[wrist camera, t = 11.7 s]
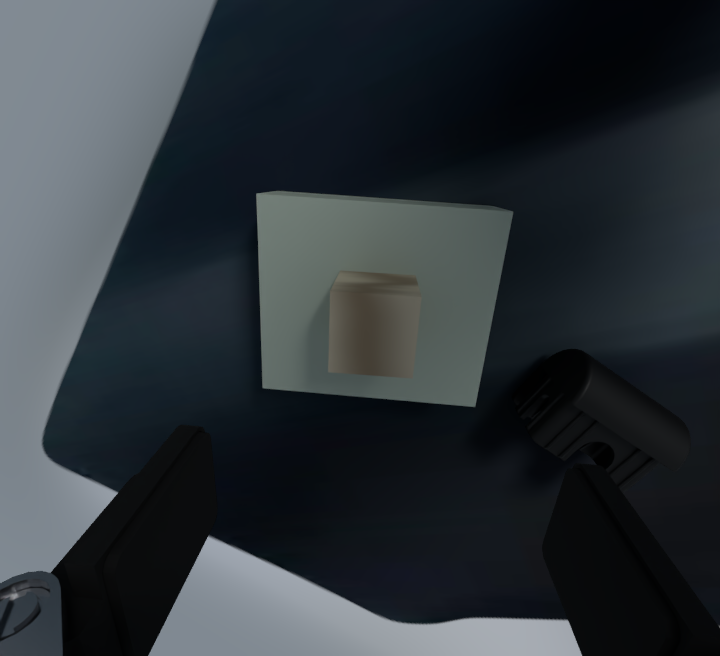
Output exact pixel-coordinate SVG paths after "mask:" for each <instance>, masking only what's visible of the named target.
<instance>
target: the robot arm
mask: <svg viewBox="0 0 720 656" xmlns="http://www.w3.org/2000/svg"><path fill="white" fill-rule="evenodd" d="M216 517H217V498H216V487H215V477H214V467H213V456H212V446H211V437H210V434H209V433H205V430H204V428H203V427H199V426H189V425H180V426H178V427H177V428H176V429H175V431H174V432H173V433H172V434H171V435H170V437H169V438H168V439H167V440H166V441H165V443H164V444H163V445H162V446H161V447H160V449H159V450H158V451H157V452H156V453H155V455H154V456H153V457H152V458H151V459H150V461H149V462H148V463H147V464H146V465H145V467H144V468H143V469H142V470H141V471H140V473H138V474H136V475H134V476H133V477H132V478H131V479H130V480H129V481H128V482H127V483H126V484H125V486H124V487H123V488H122V489H121V490H120V491H119V493H118V494H117V495H116V496H115V497H114V499H113V500H112V501H111V502H110V503H109V504H108V506H107V507H106V508H105V509H104V510H103V511H102V513H101V514H100V515H99V516H98V517H97V519H96V520H95V521H94V522H93V523H92V524H91V526H90V527H89V528H88V529H87V530H86V532H85V533H84V534H83V535H82V536H81V538H80V539H79V540H78V541H77V542H76V543H75V545H74V546H73V547H72V548H71V549H70V550H69V552H68V553H67V554H66V555H65V557H64V558H63V559H62V560H61V561H60V562H59V564H58V565H57V566H56V567H55V568H54V569H53V571H52V572H51V573H48V572H43V571H36V572H27V573H24V574H21V575H18V576H15V577H12V578H10V579H8V580H6V581H4V582H2V583H0V656H148V655H149V653H150V651H151V649H152V647H153V645H154V643H155V641H156V639H157V637H158V635H159V633H160V631H161V629H162V627H163V625H164V623H165V621H166V619H167V617H168V615H169V613H170V611H171V609H172V607H173V605H174V603H175V601H176V599H177V597H178V595H179V593H180V591H181V589H182V587H183V585H184V583H185V581H186V579H187V577H188V575H189V573H190V571H191V569H192V567H193V565H194V563H195V561H196V559H197V557H198V555H199V553H200V551H201V549H202V547H203V545H204V543H205V541H206V539H207V537H208V535H209V533H210V531H211V529H212V527H213V525H214V523H215V520H216ZM542 551H543V557H544V560H545V563H546V565H547V568H548V570H549V573H550V575H551V578H552V580H553V583H554V585H555V588H556V590H557V593H558V595H559V598H560V600H561V603H562V606H563V608H564V611H565V613H566V616H567V618H568V621H569V623H570V625H571V628H572V631H573V633H574V636H575V638H576V641H577V643H578V646H579V648H580V651H581V653H582V656H720V628H719V626H718V625H717V623H716V622H715V621H714V619H713V618H712V617H711V615H710V614H709V612H708V611H707V610H706V608H705V607H704V605H703V604H702V603H701V601H700V600H699V599H698V597H697V596H696V594H695V593H694V592H693V590H692V589H691V587H690V586H689V585H688V583H687V582H686V580H685V579H684V578H683V576H682V575H681V574H680V572H679V571H678V569H677V568H676V567H675V565H674V564H673V562H672V561H671V560H670V558H669V557H668V556H667V554H666V553H665V551H664V550H663V549H662V547H661V546H660V544H659V543H658V542H657V540H656V539H655V538H654V536H653V535H652V533H651V532H650V531H649V529H648V528H647V526H646V525H645V524H644V522H643V521H642V519H641V518H640V517H639V515H638V514H637V513H636V511H635V510H634V508H633V507H632V506H631V504H630V503H629V501H628V500H627V499H626V497H625V496H624V495H623V493H622V492H621V490H620V489H619V488H618V486H617V485H616V483H615V482H614V481H613V479H612V478H611V477H610V475H609V474H608V472H607V471H606V470H605V469H604V468H603V467H602V466H600V465H591V464H581V463H577V464H575V465H574V466H573V468H572V469H571V468H570V469H568V470H567V471H566V473H565V476H564V479H563V482H562V485H561V489H560V492H559V495H558V498H557V501H556V504H555V507H554V510H553V513H552V516H551V519H550V522H549V525H548V529H547V532H546V535H545V538H544V541H543V545H542Z"/></svg>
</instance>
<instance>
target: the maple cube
mask: <svg viewBox="0 0 720 656" xmlns="http://www.w3.org/2000/svg"><path fill="white" fill-rule="evenodd" d="M421 299H422V296H421V293H420V289H419V286H418V282H417V279H416V275H402V274H387V273H371V272H355V271H340V272H339V274H338V276H337V278H336V280H335V282H334V284H333V286H332V288H331V290H330V317H329V361H328V372H331V373H345V374H358V375H372V376H385V377H399V378H412V379H413V371H414V362H415V353H416V344H417V335H418V326H419V317H420V308H421Z"/></svg>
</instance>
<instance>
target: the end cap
mask: <svg viewBox="0 0 720 656" xmlns="http://www.w3.org/2000/svg"><path fill="white" fill-rule="evenodd" d="M512 399H513V401H514V403H515V404H516V405H518V406H517V407H516V408H515V409H516V411H517V413H518V415H519V417H520V418H522V419H523V420H524V419H525V418H526V417H527V416H528V417H529V418H531V419H532V420H531V421H530V422H529V423H528V424H527V425H526V426H525V428H526V429H527V431H528V433H529V435H530V437H531V438H532V439H533V440H534V441H535V442H536V443H537V444H538V445H540V446H541V447H543V448H544V449H546V450H548V451H549V452H551V453H552V454H554V455H556V456H557V457H559V458H560V459H562V460H563V461H565V460H567V459H568V458H569V457H570V456H571V455H572V454H573V453H574V452H575V451H576V450H578V449H579V450H580V451H582V452H583V453H585V454H587V455H588V456H590V457H591V458H592V459H593V460H594V461H595V463H596V464H597V465H600V466H602V467H603V468H604V469H605V470H606V471H607V472H608V474H609V475H610V477H611V478H612V479H613V481H614V482H615V483H616V485H617V486H618V488H619V489H620V490H621V492H622V493H624V492H626V491H627V490H628V489H629V488H631V487H632V486H633V485H634V484H636V483H637V482H638V481H639V480H640V479H642V478H643V477H644V476H645V475H647V474H648V473H649V472H650V471H652V470H653V469H654V468H655V467H656V466H658V465H659V464H660V463H661V464H663V465H664V466H666V467H667V468H669V469H670V470H672V471H673V472H676V471H677V470H678V469H679V468H680V467H681V466H682V465H683V463H684V462H685V460H686V459H687V456H688V454H689V451H690V446H691V439H690V434H689V430H688V428H687V427H686V425H685V423H684V422H683V421H682V420H681V419H680V418H679V417H677V416H676V415H674V414H673V413H672V412H670V411H669V410H667V409H666V408H664V407H663V406H661V405H660V404H659V403H657V402H656V401H654V400H653V399H651V398H650V397H649V396H647V395H646V394H644V393H643V392H641V391H640V390H638V389H637V388H636V387H634V386H633V385H631V384H630V383H628V382H627V381H626V380H624V379H623V378H621V377H620V376H618V375H617V374H615V373H614V372H613V371H611V370H610V369H608V368H607V367H605V366H604V365H603V364H601V363H600V362H598V361H597V360H595V359H594V358H592V357H591V356H590V355H588V354H587V353H585V352H584V351H582V350H578V349H567V350H563V351H560V352H558V353H556V354H554V355H552V356H551V357H549V358H548V359H547V360H545V361H544V362H543V363H542V364H541V365H540V366H539V367H538V368H537V369H536V370H535V372H534V373H533V374H532V375H531V376H530V377H529V378H528V379H527V380H526V381H525V382H524V383H523V384H522V385H521V386H520V387H519V388H518V389H517V390H516V391H515V393H514V394H513V396H512Z"/></svg>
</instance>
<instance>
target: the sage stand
mask: <svg viewBox="0 0 720 656" xmlns="http://www.w3.org/2000/svg"><path fill="white" fill-rule="evenodd" d="M512 217H513V211H510V210H506V209H502V208H499V207H495V206H488V205H473V204H459V203H445V202H430V201H416V200H401V199H387V198H372V197H358V196H343V195H329V194H314V193H300V192H285V191H273V192H266V193H258V194H257V225H258V256H259V288H260V320H261V352H262V383H263V388H266V389H277V390H289V391H300V392H311V393H323V394H334V395H345V396H357V397H368V398H379V399H391V400H402V401H413V402H425V403H436V404H447V405H459V406H470V407H475V405H476V400H477V395H478V390H479V384H480V379H481V374H482V369H483V364H484V359H485V354H486V349H487V344H488V339H489V334H490V328H491V323H492V318H493V313H494V308H495V303H496V298H497V293H498V288H499V283H500V278H501V273H502V267H503V262H504V257H505V252H506V247H507V242H508V237H509V232H510V227H511V222H512ZM340 271H355V272H371V273H387V274H402V275H416V279H417V282H418V286H419V289H420V293H421V296H422V299H421V308H420V317H419V326H418V335H417V344H416V353H415V362H414V371H413V379H412V378H399V377H385V376H372V375H358V374H345V373H331V372H328V361H329V317H330V290H331V288H332V286H333V284H334V282H335V280H336V278H337V276H338V274H339V272H340Z"/></svg>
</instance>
